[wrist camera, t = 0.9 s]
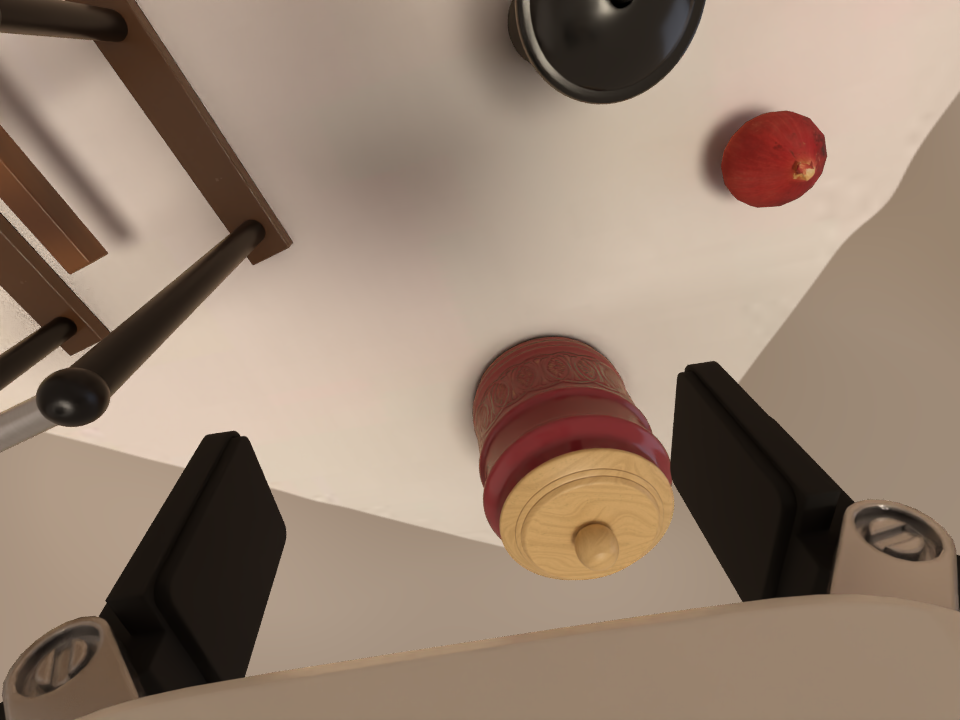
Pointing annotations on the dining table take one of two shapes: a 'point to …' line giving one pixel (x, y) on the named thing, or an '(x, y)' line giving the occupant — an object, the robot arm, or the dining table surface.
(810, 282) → the dining table surface
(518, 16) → the drinking cup
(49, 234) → the hanger
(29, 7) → the rack
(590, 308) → the dining table surface
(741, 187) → the red oval fruit
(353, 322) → the dining table surface
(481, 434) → the kitchen canister
